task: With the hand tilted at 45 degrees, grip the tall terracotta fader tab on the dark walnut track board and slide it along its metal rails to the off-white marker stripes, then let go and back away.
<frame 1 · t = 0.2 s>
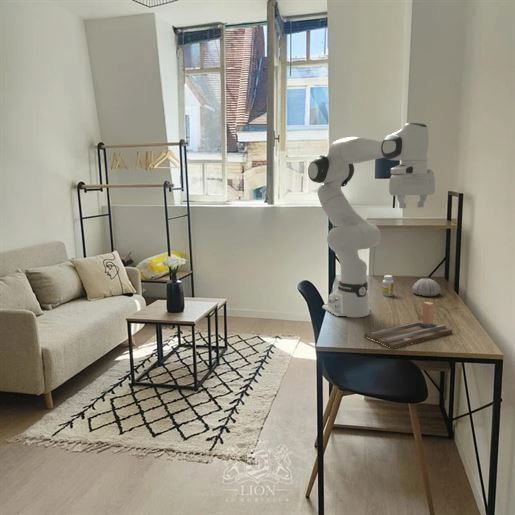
hand: (411, 207, 167), 48 cm above the table, tool pointing down, fingers open, 8 cm apart
supplement bottle: (387, 295, 231), on the table
sea urchin shell: (425, 294, 231), on the table
track board: (408, 335, 173), on the table
fader tab: (428, 314, 176), point 6 cm above the table, slide at 0.0 cm
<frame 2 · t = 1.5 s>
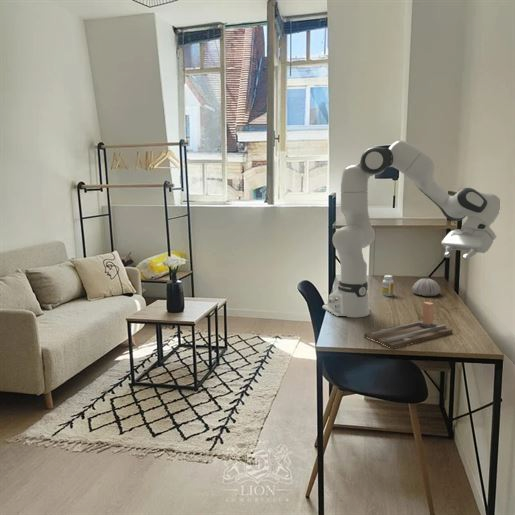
hand: (455, 257, 178), 27 cm above the table, tool tilted 45°, fingers open, 8 cm apart
nothing on the table moved.
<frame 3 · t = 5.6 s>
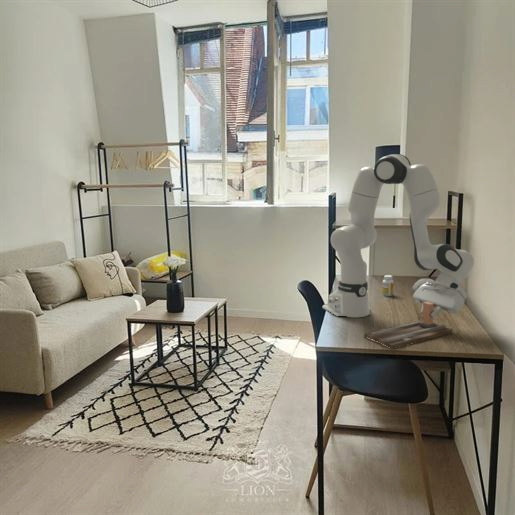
hand: (426, 315, 176), 6 cm above the table, tool tilted 45°, fingers closed on fader tab, 3 cm apart
fader tab: (428, 314, 176), point 6 cm above the table, slide at 0.0 cm, touching gripper
everything else where it was.
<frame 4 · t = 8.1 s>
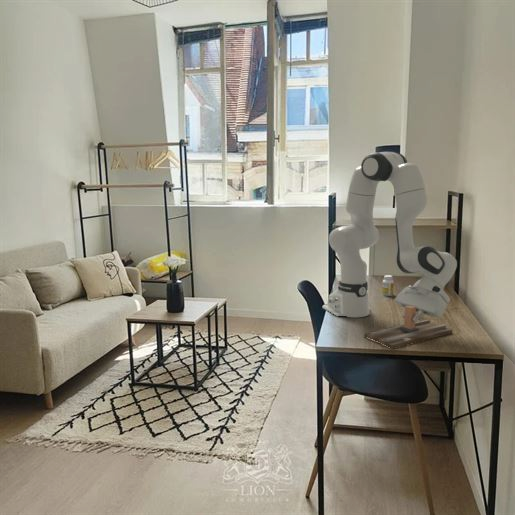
hand: (408, 319, 172), 6 cm above the table, tool tilted 45°, fingers closed on fader tab, 3 cm apart
fader tab: (409, 318, 172), point 6 cm above the table, slide at 9.6 cm, touching gripper
everything else where it was.
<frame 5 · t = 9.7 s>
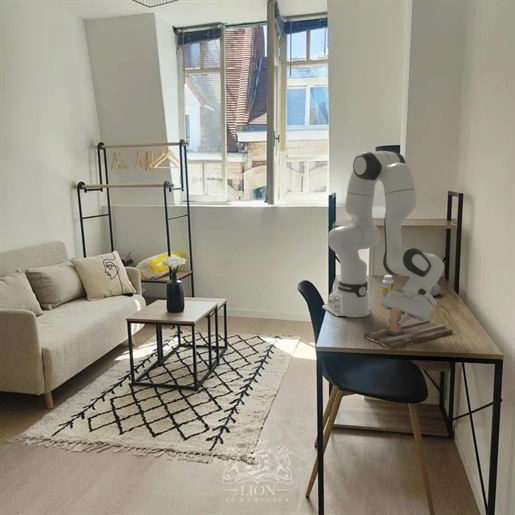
hand: (394, 322, 168), 6 cm above the table, tool tilted 45°, fingers closed on fader tab, 3 cm apart
fader tab: (395, 322, 168), point 6 cm above the table, slide at 16.9 cm, touching gripper
everything else where it was.
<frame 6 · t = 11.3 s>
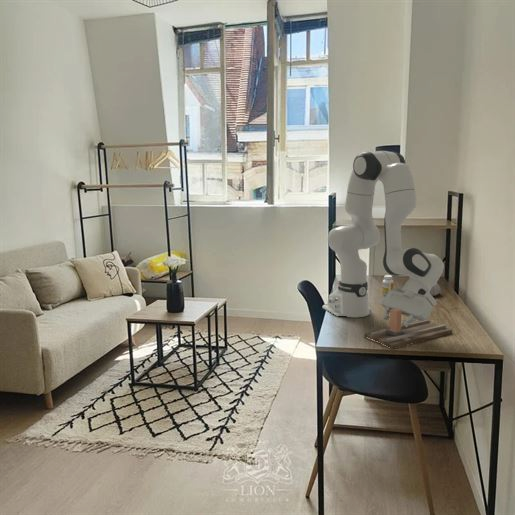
hand: (394, 322, 168), 6 cm above the table, tool tilted 45°, fingers open, 8 cm apart
fader tab: (395, 322, 168), point 6 cm above the table, slide at 16.9 cm
everything else where it was.
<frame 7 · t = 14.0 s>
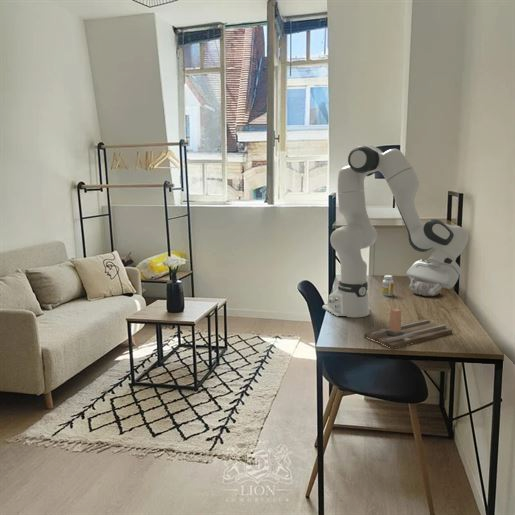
hand: (420, 291, 172), 16 cm above the table, tool tilted 45°, fingers open, 8 cm apart
nothing on the table moved.
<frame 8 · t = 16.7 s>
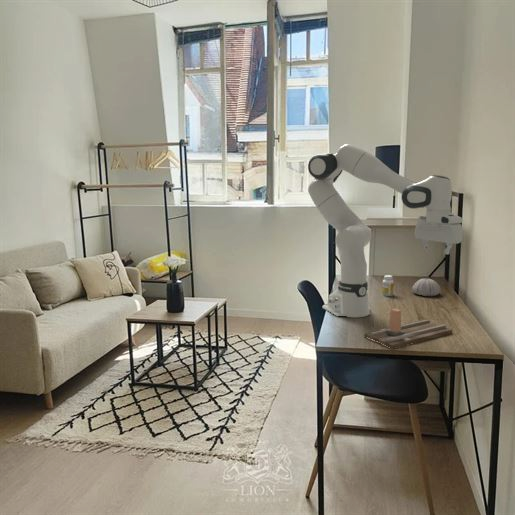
hand: (436, 252, 181), 29 cm above the table, tool pointing down, fingers open, 8 cm apart
nothing on the table moved.
at the end: fader tab slide at 16.9 cm; the gripper is holding nothing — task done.
